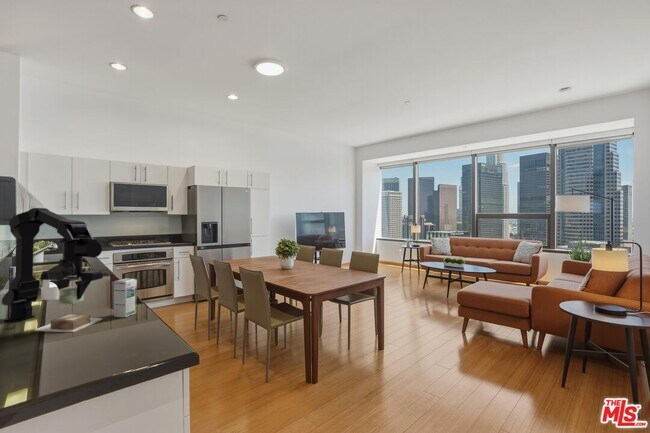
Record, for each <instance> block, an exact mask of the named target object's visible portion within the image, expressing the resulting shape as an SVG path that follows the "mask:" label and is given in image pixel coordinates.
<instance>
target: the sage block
mask: <svg viewBox="0 0 650 433" xmlns="http://www.w3.org/2000/svg"><path fill="white" fill-rule="evenodd" d="M84 300H85V292H84V293H83V295H82V297H81V299H77V285H76V286H73V285H72V286H70V285H69V287H67V288H63V289H60V290H59V299H58V303H59V304H60V305H61V304H66V305H67V304H68V305H69V304H70V305H74V304H77V303H80V302H83V301H84Z"/></svg>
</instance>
